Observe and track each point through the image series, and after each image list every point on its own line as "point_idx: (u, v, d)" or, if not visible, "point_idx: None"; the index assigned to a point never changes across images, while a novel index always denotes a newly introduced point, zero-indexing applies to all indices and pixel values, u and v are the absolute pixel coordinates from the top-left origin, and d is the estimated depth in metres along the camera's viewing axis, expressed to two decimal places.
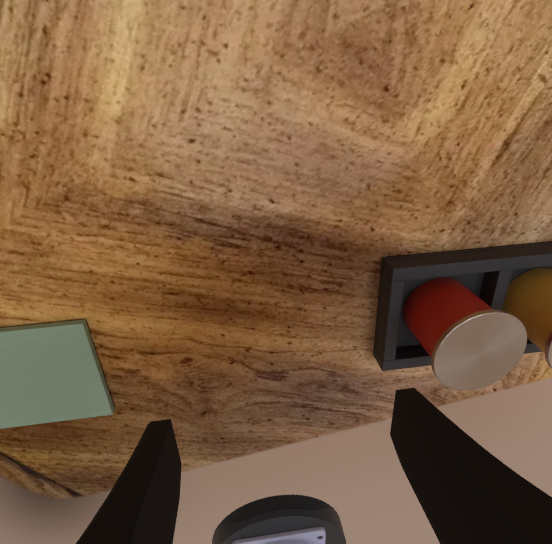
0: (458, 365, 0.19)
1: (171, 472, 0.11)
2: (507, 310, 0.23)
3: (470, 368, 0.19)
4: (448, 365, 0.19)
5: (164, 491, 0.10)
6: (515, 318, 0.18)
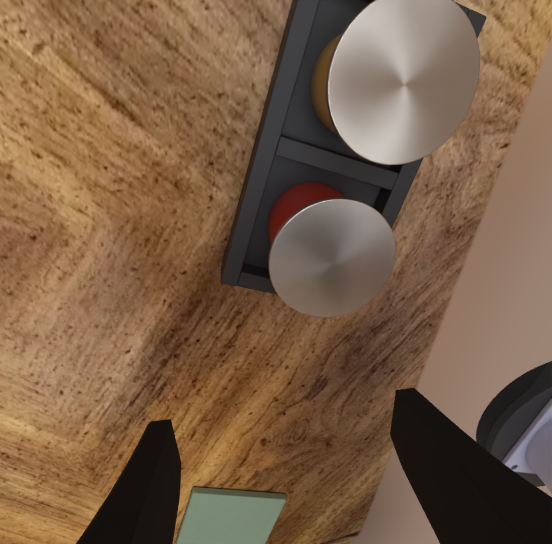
0: (338, 290, 0.15)
1: (171, 472, 0.11)
2: None
3: (351, 275, 0.15)
4: (330, 302, 0.15)
5: (164, 491, 0.10)
6: (296, 215, 0.13)
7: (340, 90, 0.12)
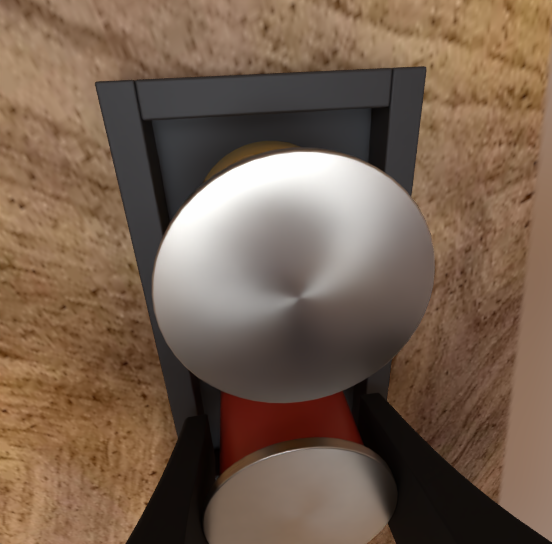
0: (326, 536, 0.10)
1: (209, 467, 0.11)
2: None
3: (336, 519, 0.10)
4: None
5: (205, 485, 0.10)
6: (217, 493, 0.09)
7: (193, 345, 0.07)
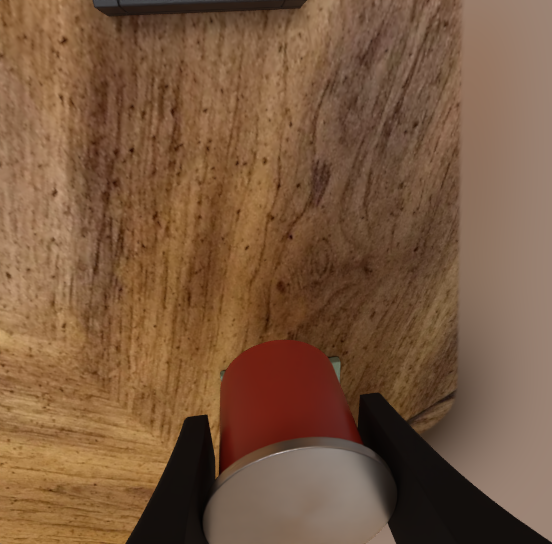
0: (326, 536, 0.10)
1: (209, 467, 0.11)
2: None
3: (336, 519, 0.10)
4: None
5: (205, 485, 0.10)
6: (216, 492, 0.09)
7: None
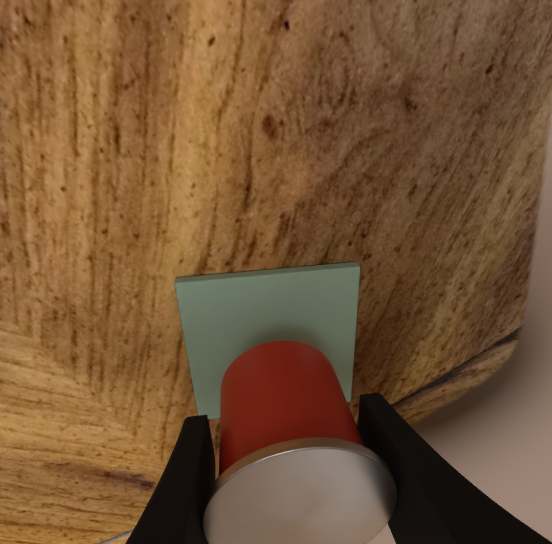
0: (326, 536, 0.10)
1: (209, 467, 0.11)
2: None
3: (336, 519, 0.10)
4: None
5: (205, 485, 0.10)
6: (217, 493, 0.09)
7: None
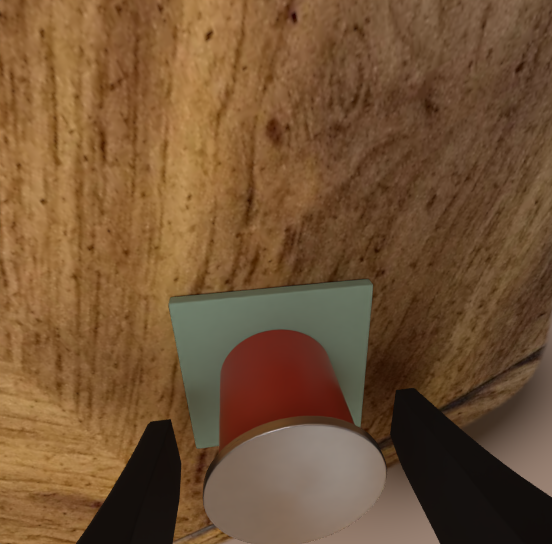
0: (320, 512, 0.10)
1: (171, 472, 0.11)
2: None
3: (329, 494, 0.10)
4: (315, 525, 0.11)
5: (164, 491, 0.10)
6: (216, 468, 0.09)
7: None
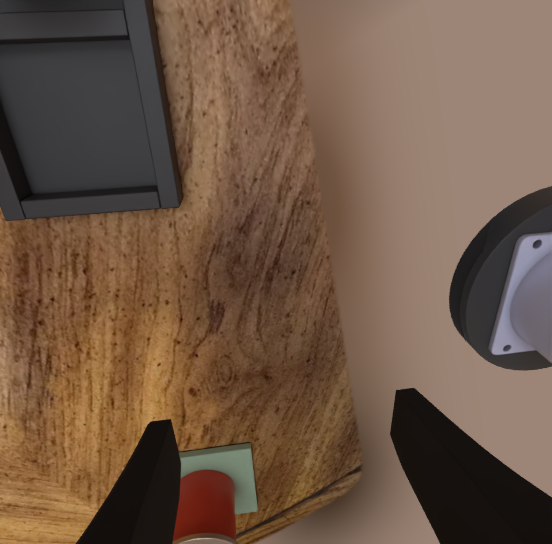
0: None
1: (171, 472, 0.11)
2: None
3: None
4: None
5: (164, 491, 0.10)
6: None
7: None
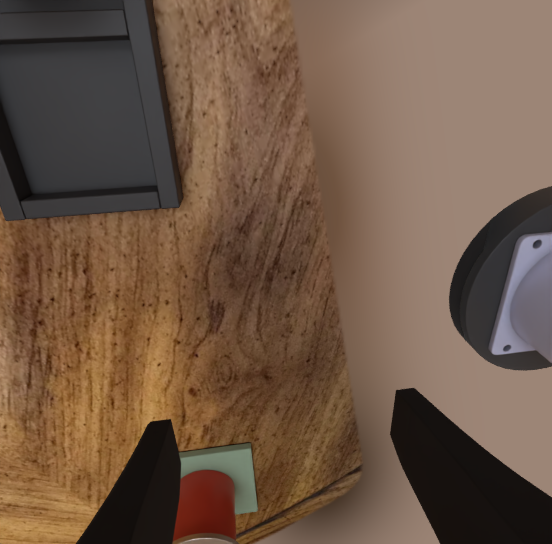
0: None
1: (171, 472, 0.11)
2: None
3: None
4: None
5: (164, 491, 0.10)
6: None
7: None
